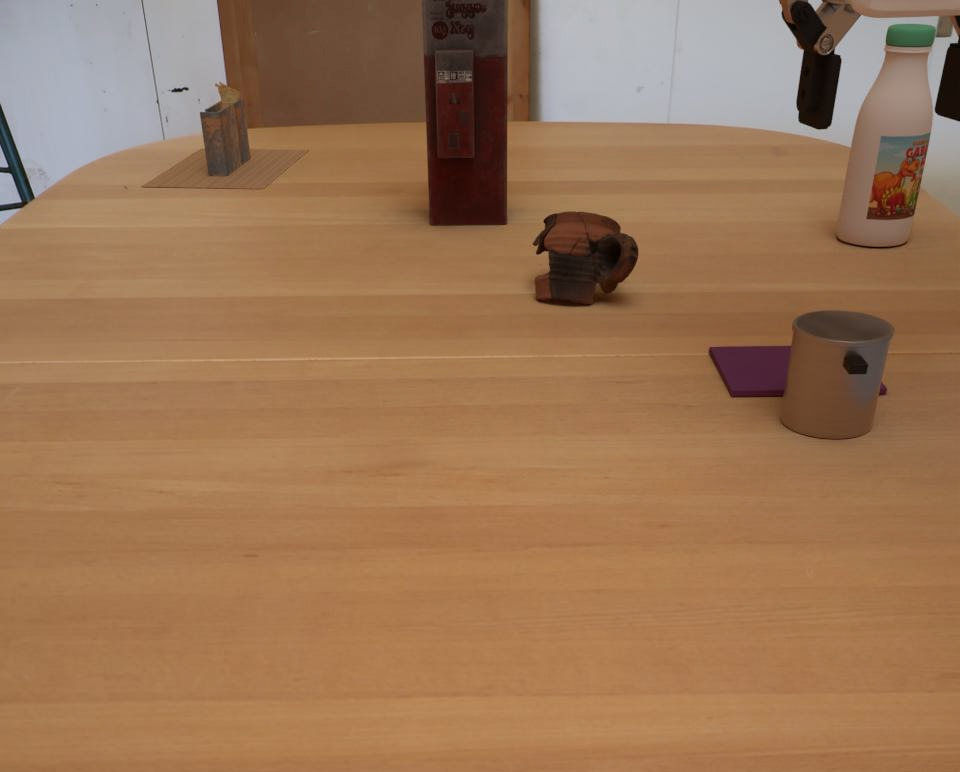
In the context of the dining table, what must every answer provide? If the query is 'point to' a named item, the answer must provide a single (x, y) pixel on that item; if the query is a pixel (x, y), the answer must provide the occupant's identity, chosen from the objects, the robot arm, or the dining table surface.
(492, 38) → the toy vending machine
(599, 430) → the dining table surface
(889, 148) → the milk bottle
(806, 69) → the robot arm
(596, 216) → the pottery mug
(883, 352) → the pot
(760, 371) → the flat purple board
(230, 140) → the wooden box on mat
